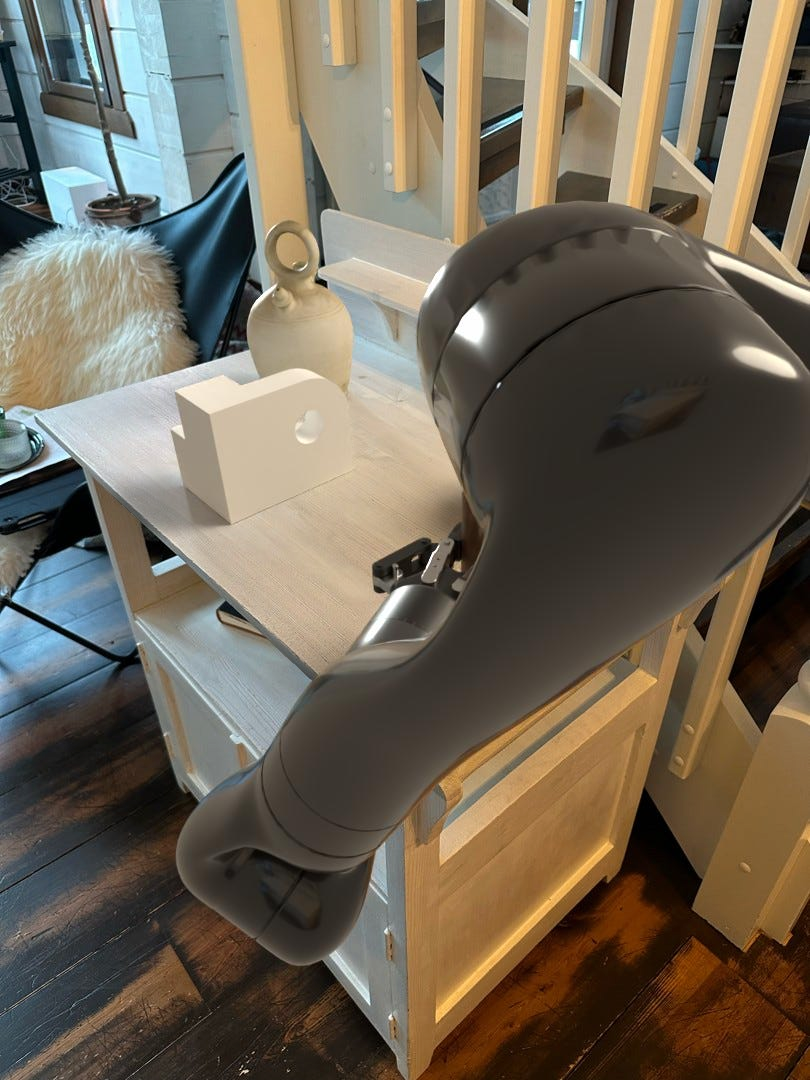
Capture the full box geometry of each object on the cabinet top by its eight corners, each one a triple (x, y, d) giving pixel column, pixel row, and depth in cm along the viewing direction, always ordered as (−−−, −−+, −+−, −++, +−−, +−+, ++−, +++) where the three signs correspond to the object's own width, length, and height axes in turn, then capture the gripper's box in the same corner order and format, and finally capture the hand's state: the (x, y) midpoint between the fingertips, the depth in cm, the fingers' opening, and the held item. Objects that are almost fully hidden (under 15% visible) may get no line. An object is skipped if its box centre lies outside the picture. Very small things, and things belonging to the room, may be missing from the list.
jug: (297, 366, 124) (277, 203, 110) (376, 384, 118) (367, 214, 103) (235, 403, 114) (205, 228, 99) (319, 425, 107) (299, 242, 92)
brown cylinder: (511, 621, 68) (520, 489, 60) (485, 646, 65) (491, 512, 57) (466, 599, 71) (469, 469, 62) (440, 621, 68) (439, 490, 60)
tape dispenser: (231, 524, 88) (209, 414, 80) (183, 485, 95) (158, 380, 87) (354, 469, 97) (345, 365, 89) (301, 437, 104) (289, 338, 96)
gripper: (501, 653, 48) (573, 512, 61) (312, 597, 53) (415, 478, 66) (497, 731, 53) (565, 585, 65) (323, 672, 58) (417, 547, 70)
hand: (489, 532), depth 65 cm, fingers closed on brown cylinder, 3 cm apart
